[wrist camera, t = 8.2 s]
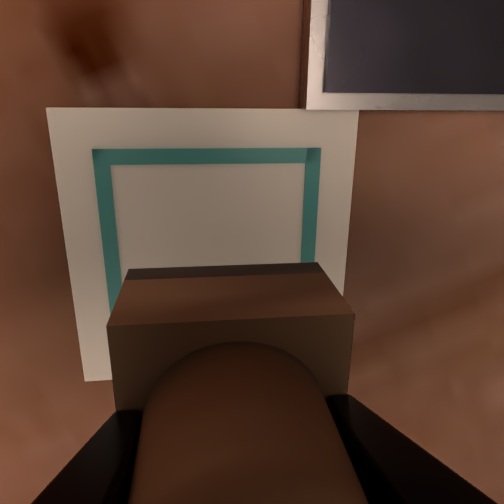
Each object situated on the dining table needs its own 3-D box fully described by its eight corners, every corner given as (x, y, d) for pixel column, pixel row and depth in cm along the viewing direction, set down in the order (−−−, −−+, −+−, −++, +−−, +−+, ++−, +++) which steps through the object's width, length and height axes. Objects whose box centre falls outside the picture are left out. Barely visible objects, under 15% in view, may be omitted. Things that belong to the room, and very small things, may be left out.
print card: (357, 109, 15) (360, 109, 15) (335, 362, 18) (337, 366, 18) (47, 107, 14) (44, 107, 13) (86, 378, 17) (84, 383, 17)
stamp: (317, 261, 9) (643, 709, 3) (308, 413, 11) (504, 973, 4) (128, 268, 9) (-97, 838, 2) (143, 425, 10) (37, 1085, 3)
